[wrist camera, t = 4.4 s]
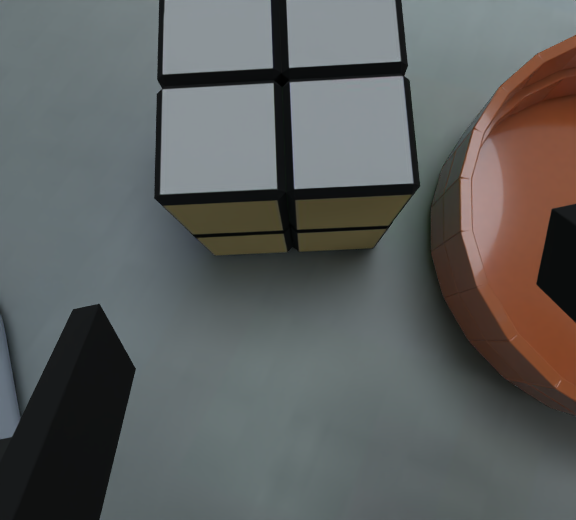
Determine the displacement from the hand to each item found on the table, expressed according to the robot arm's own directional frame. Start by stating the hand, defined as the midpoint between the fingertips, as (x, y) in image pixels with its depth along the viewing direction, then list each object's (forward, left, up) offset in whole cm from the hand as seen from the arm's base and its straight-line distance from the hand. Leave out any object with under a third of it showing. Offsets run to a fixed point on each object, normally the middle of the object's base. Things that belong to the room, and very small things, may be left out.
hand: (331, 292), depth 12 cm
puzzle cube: (0, -9, -12) cm, 15 cm away
